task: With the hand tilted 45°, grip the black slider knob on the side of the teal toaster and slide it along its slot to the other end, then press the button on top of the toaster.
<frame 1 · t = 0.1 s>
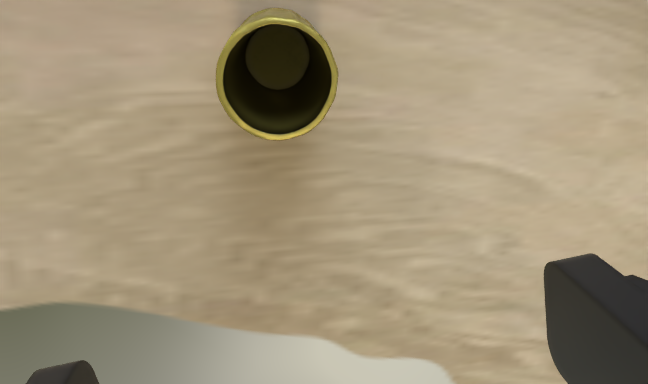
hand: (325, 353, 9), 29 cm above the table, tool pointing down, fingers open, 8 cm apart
vase: (277, 55, 36), on the table
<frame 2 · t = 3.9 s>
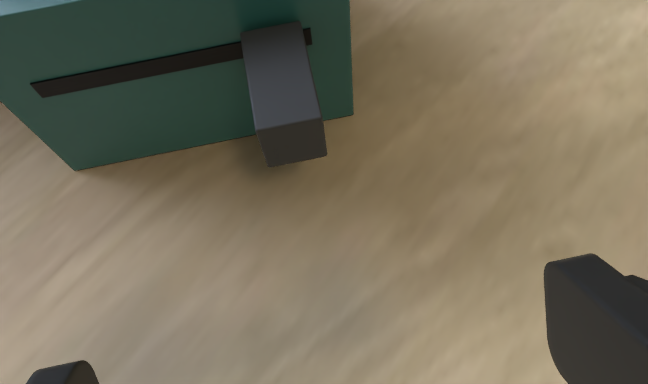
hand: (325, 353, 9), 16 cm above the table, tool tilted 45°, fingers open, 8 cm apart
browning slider: (284, 94, 22), point 7 cm above the table, slide at 0.0 cm
toaster: (205, 66, 32), on the table
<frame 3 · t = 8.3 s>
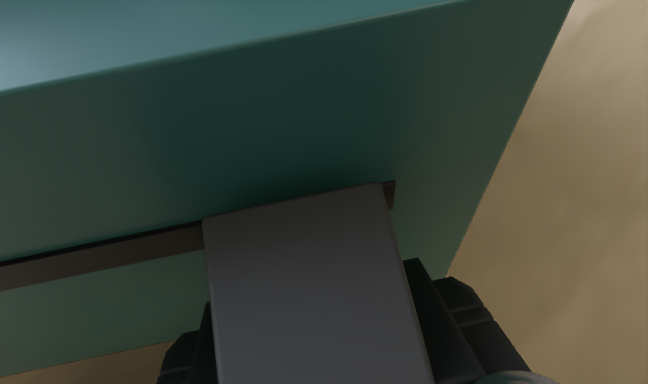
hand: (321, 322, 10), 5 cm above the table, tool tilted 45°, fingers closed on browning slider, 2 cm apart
toaster: (160, 175, 18), on the table
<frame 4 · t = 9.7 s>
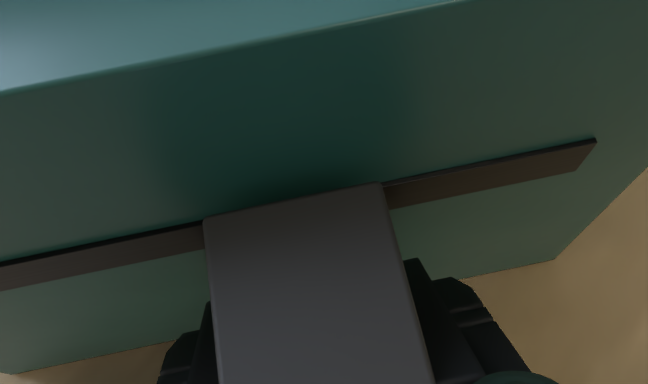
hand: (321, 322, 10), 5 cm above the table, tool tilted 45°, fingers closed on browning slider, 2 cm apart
toaster: (259, 154, 18), on the table
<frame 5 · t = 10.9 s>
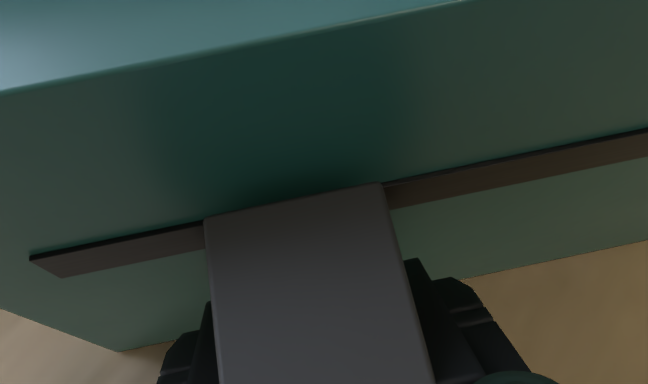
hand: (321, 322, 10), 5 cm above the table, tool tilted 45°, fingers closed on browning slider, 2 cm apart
toaster: (348, 136, 18), on the table
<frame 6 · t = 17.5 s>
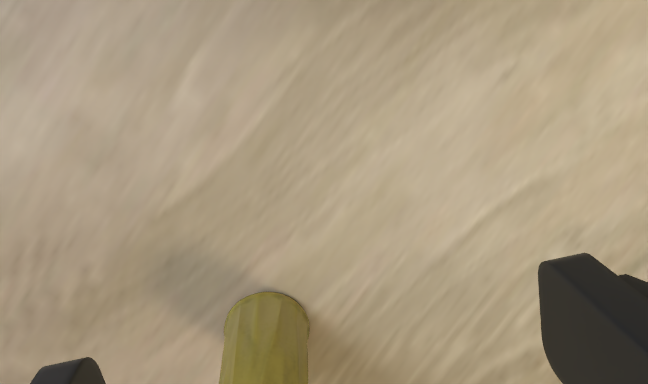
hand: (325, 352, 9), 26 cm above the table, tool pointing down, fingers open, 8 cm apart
vase: (267, 326, 39), on the table
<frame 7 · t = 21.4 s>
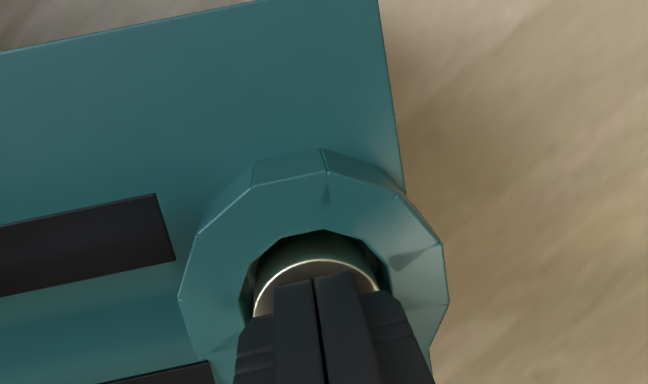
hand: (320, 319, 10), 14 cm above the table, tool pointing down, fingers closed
toaster trim: (109, 318, 14), point 10 cm above the table
cancel button: (316, 297, 11), point 13 cm above the table, slide at -0.6 cm, touching gripper
toaster: (168, 164, 23), on the table
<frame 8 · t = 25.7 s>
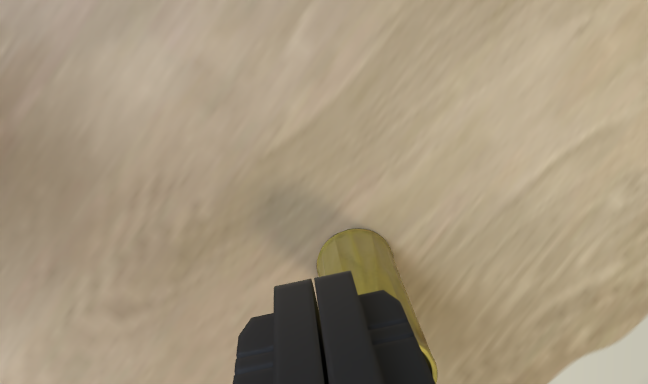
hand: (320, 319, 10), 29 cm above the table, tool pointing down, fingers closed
vase: (354, 261, 42), on the table
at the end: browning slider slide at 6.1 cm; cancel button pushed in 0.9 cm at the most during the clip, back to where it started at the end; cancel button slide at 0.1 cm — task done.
